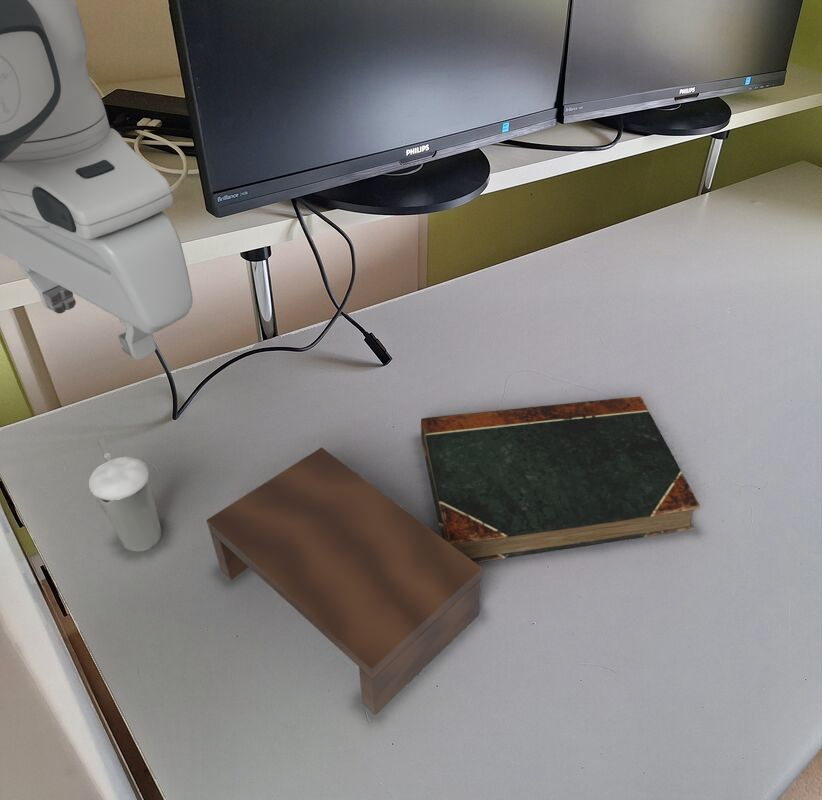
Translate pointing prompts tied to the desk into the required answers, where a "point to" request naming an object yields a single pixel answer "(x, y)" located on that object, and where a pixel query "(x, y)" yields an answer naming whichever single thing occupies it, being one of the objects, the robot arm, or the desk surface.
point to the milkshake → (127, 500)
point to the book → (553, 478)
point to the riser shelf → (352, 569)
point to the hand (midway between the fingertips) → (100, 329)
